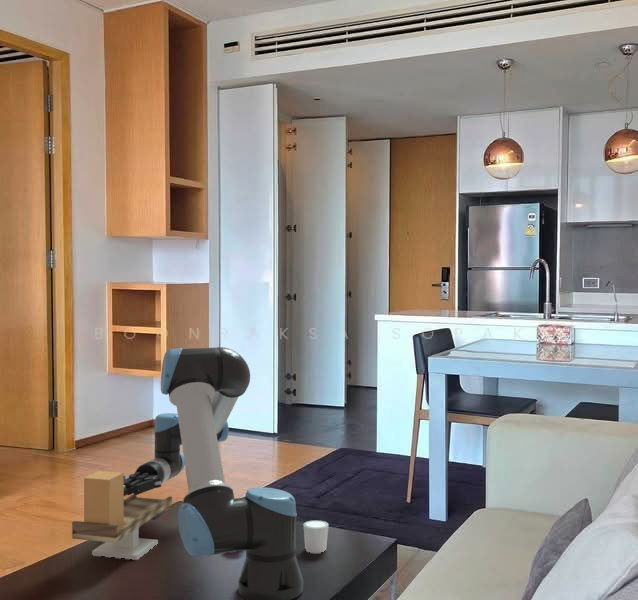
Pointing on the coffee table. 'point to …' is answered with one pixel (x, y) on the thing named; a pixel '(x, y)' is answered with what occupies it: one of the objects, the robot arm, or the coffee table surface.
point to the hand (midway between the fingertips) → (110, 497)
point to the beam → (134, 517)
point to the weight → (104, 498)
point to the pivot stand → (126, 547)
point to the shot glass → (315, 536)
